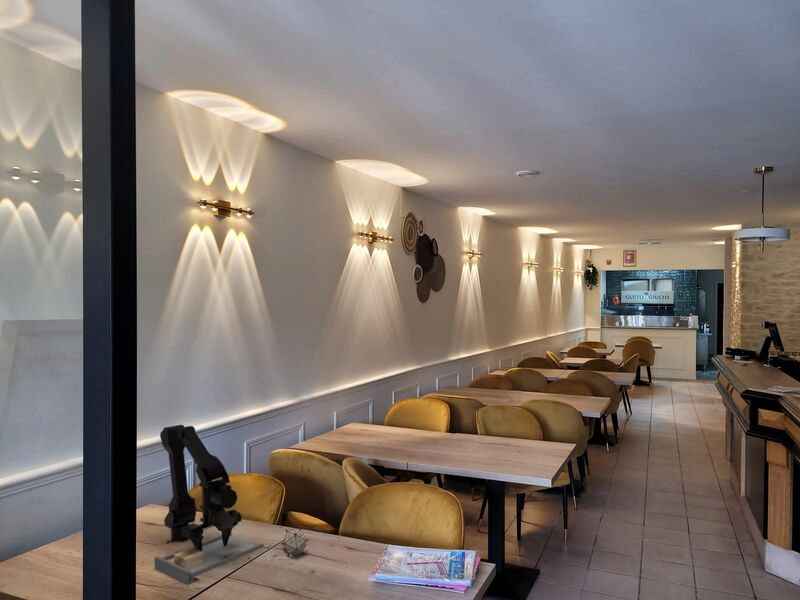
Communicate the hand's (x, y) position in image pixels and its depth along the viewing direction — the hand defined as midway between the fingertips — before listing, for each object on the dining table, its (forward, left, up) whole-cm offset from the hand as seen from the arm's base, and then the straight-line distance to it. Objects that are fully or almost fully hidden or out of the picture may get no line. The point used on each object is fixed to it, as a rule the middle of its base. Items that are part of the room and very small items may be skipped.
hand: (213, 550), depth 188 cm
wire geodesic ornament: (+19, +17, -3) cm, 26 cm away
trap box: (0, -1, -2) cm, 3 cm away
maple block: (0, -9, -1) cm, 9 cm away
